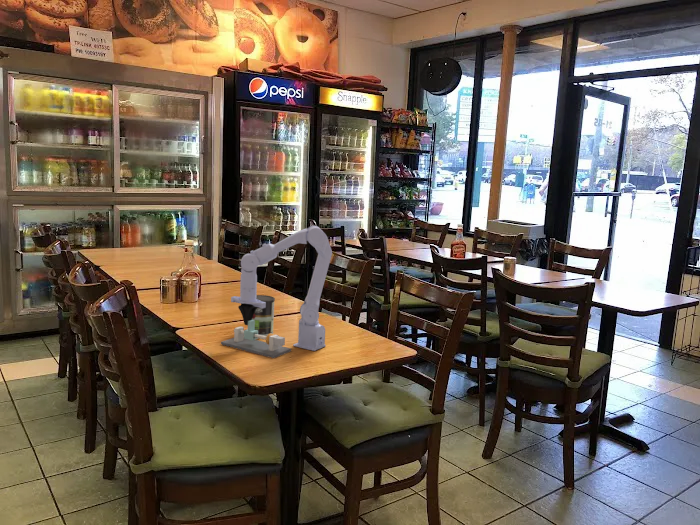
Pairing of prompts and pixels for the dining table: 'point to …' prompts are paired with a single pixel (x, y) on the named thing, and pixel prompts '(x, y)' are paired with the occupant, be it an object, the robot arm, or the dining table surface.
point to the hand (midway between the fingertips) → (247, 324)
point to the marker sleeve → (250, 331)
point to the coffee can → (264, 315)
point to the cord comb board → (258, 344)
